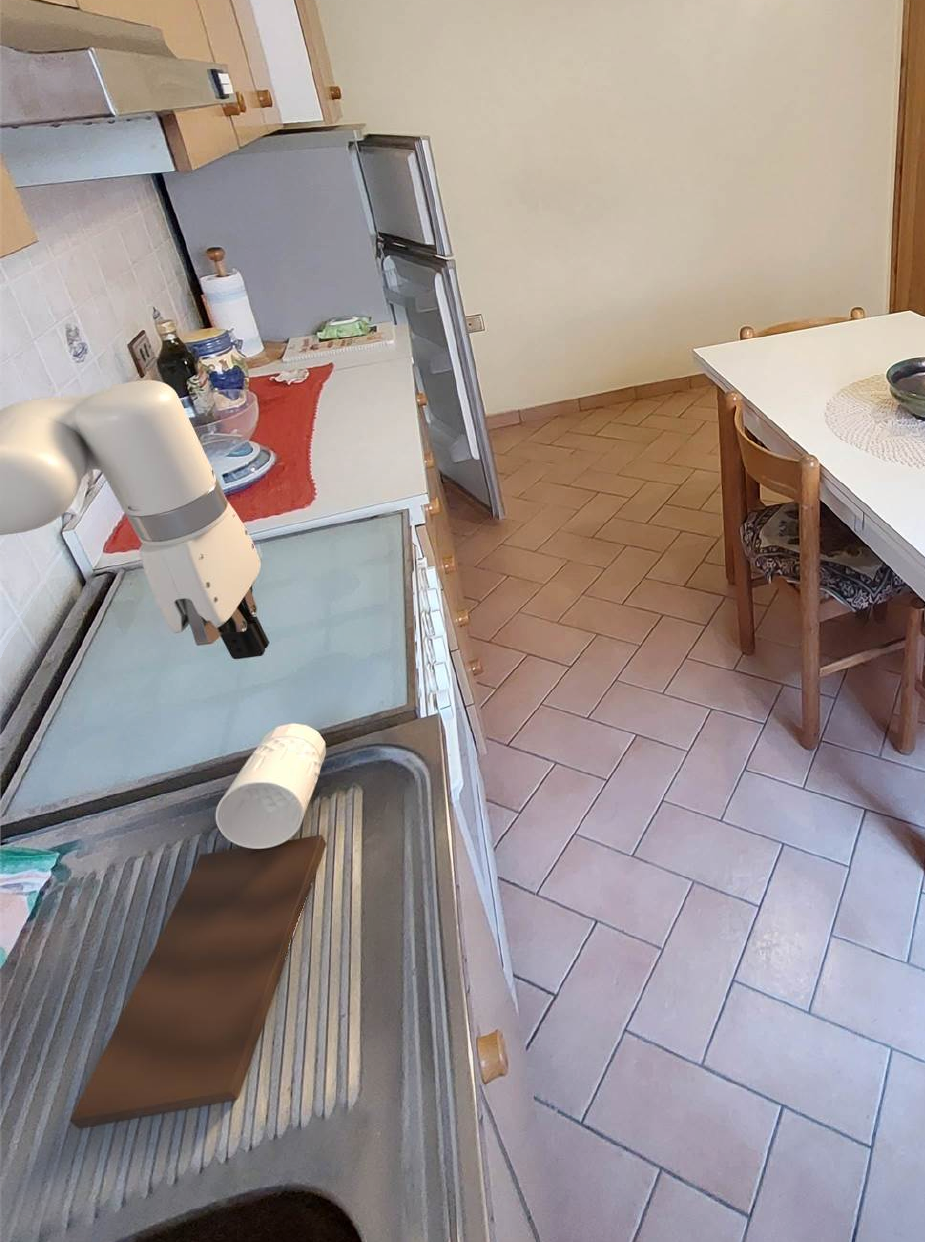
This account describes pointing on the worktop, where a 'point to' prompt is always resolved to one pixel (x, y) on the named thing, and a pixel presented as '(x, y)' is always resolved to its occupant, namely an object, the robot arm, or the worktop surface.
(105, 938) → the worktop surface
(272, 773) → the white cup
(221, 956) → the board
